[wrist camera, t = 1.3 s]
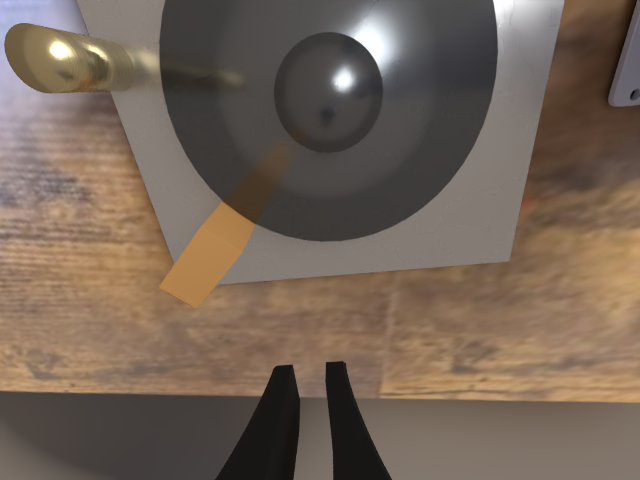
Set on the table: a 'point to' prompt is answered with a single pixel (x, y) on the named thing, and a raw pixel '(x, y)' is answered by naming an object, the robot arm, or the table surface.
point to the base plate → (264, 245)
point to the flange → (320, 115)
